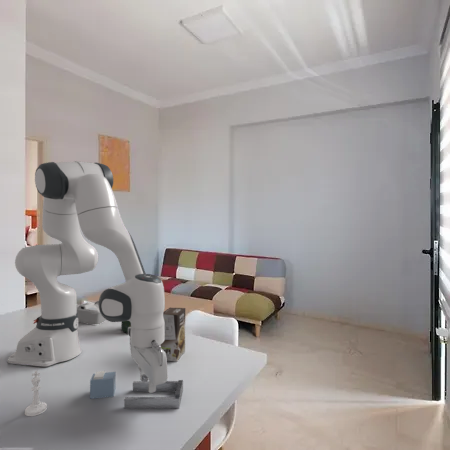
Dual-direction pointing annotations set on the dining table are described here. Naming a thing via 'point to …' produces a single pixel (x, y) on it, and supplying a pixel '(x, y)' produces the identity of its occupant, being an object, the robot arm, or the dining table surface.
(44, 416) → the dining table surface
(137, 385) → the grey u-shaped piece
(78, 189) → the robot arm
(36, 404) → the chess piece
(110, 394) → the block
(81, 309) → the digital camera
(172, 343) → the coffee box
